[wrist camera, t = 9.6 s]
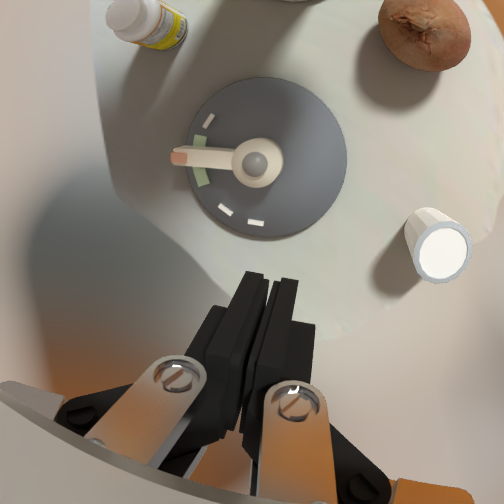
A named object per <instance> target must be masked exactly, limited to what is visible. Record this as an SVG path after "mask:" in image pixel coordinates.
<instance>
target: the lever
mask: <svg viewBox="0 0 504 504" xmlns="http://www.w3.org/2000/svg"><path fill="white" fill-rule="evenodd" d="M284 160H285V159H284V153H283V151H282V149H281V147H280V146H279V145H278V144H277V143H276V142H275V141H273V140H272V139H269V138H265V137H258V138H254V139H251V140H248V141H245V142H243V143H242V144H240V145H239V146H238V147H237V148H236V149H232V148H219V147H205V146H187V145H184V146H180V147H176V148H173V152H172V153H171V162H173V165H179V166H193V167H205V168H216V169H227V170H233V172H234V175H235V176H236V178H237V179H238V180H239V181H240V182H241V183H243V184H244V185H246V186H249V187H253V188H261V187H265V186H267V185H269V184H270V183H272V182H273V181H274V180H275V179H276V177H277V176H278V175H279V174H280V172H281V171H282V169H283V166H284Z"/></svg>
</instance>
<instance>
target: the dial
mask: <svg viewBox="0 0 504 504" xmlns="http://www.w3.org/2000/svg"><path fill="white" fill-rule="evenodd" d="M258 137H265V138H269V139H272V140H273V141H275V142H276V143H277V144H278V145H279V146H280V147H281V149H282V151H283V153H284V159H285V160H284V166H283V169H282V171H281V172H280V174H279V175H278V176H277V177H276V179H275V180H274V181H273V182H272V183H270V184H269V185H267V186H265V187H261V188H253V187H249V186H246V185H244V184H243V183H241V182H240V181H239V180H238V179H237V178H236V176H235V175H234V172H233V170H227V169H216V168H205V167H193V166H186V170H187V174H188V178H189V181H190V184H191V186H192V189H193V191H194V193H195V194H196V196H197V198H198V199H199V201H200V202H201V204H202V205H203V206H204V207H205V208H206V210H207V211H208V212H209V213H210V214H211V215H212V216H214V217H215V218H216V219H217V220H218V221H220V222H221V223H223V224H224V225H226V226H228V227H230V228H232V229H234V230H236V231H239V232H241V233H244V234H248V235H253V236H260V237H277V236H284V235H288V234H292V233H295V232H297V231H300V230H302V229H304V228H306V227H308V226H310V225H311V224H313V223H314V222H316V221H317V220H318V219H319V218H321V217H322V216H323V215H324V214H325V213H326V212H327V211H328V210H329V208H330V207H331V206H332V204H333V203H334V202H335V200H336V198H337V196H338V194H339V193H340V190H341V188H342V185H343V182H344V178H345V174H346V166H347V152H346V145H345V140H344V137H343V134H342V131H341V128H340V126H339V124H338V122H337V120H336V118H335V117H334V115H333V114H332V112H331V111H330V109H329V108H328V107H327V106H326V105H325V104H324V103H323V102H322V101H321V100H320V99H319V98H318V97H317V96H315V95H314V94H313V93H311V92H310V91H308V90H307V89H305V88H304V87H301V86H299V85H297V84H295V83H292V82H289V81H286V80H282V79H276V78H251V79H246V80H242V81H238V82H236V83H233V84H231V85H229V86H227V87H225V88H223V89H222V90H220V91H218V92H217V93H216V94H214V95H213V96H212V97H211V98H210V99H209V100H208V101H207V102H206V103H205V104H204V105H203V106H202V107H201V109H200V110H199V111H198V113H197V115H196V116H195V118H194V120H193V122H192V124H191V127H190V129H189V132H188V136H187V140H186V145H187V146H205V147H219V148H232V149H236V148H237V147H238V146H239V145H240V144H242V143H243V142H245V141H248V140H251V139H254V138H258Z"/></svg>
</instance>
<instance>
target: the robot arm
mask: <svg viewBox="0 0 504 504" xmlns="http://www.w3.org/2000/svg"><path fill="white" fill-rule="evenodd" d="M283 1H306V0H283ZM263 278H264V275H263V274H260V273H255V272H250V271H246V272H245V274H244V276H243V278H242V280H241V282H240V284H239V286H238V288H237V290H236V292H235V294H234V296H233V298H232V300H231V302H230V304H229V306H228V308H225V307H221V306H217V305H214V306H213V307H212V308H211V309H210V311H209V313H208V315H207V317H206V318H205V320H204V322H203V324H202V325H201V327H200V329H199V330H198V332H197V334H196V335H195V337H194V339H193V341H192V342H191V344H190V346H189V348H188V349H187V351H186V353H185V355H184V356H183V355H171V356H165V357H163V358H160V359H158V360H156V361H155V362H154V363H153V364H152V365H151V366H150V367H149V368H148V369H147V370H146V371H145V372H144V373H143V374H142V375H141V376H140V377H139V378H138V379H137V381H136V382H135V383H133V384H129V385H125V386H121V387H117V388H114V389H110V390H106V391H101V392H97V393H93V394H88V395H84V396H80V397H76V398H73V399H70V400H69V401H68V400H66V399H65V397H64V396H62V395H58V394H55V393H51V392H47V391H44V390H41V389H37V388H34V387H31V386H27V385H24V384H21V383H18V382H14V381H6V382H2V383H0V504H474V500H473V498H472V496H471V495H470V494H469V493H468V492H467V491H466V490H463V489H460V488H455V487H448V486H441V485H434V484H428V483H422V482H417V481H412V480H406V479H402V478H399V479H398V480H397V481H395V480H390V479H388V478H387V476H386V475H385V474H384V473H383V472H382V471H381V470H380V469H379V468H378V467H377V466H376V465H374V464H373V463H372V462H371V461H370V460H369V459H368V458H367V457H365V456H364V455H363V454H362V453H361V452H360V451H359V450H358V449H357V448H356V447H355V446H354V445H353V444H351V443H350V442H349V441H348V440H347V439H346V438H345V437H344V436H343V435H342V434H341V433H340V432H339V431H338V430H336V428H335V427H334V426H332V425H331V424H330V423H329V417H328V410H327V403H326V400H325V397H324V396H323V394H322V393H321V392H320V391H319V390H318V389H317V388H315V387H314V386H313V385H310V379H311V370H312V359H313V349H314V338H315V324H309V323H304V322H298V321H292V314H293V309H294V304H295V298H296V293H297V287H298V281H299V280H294V279H288V278H281V282H279V281H274V283H273V286H272V289H271V292H270V296H269V299H268V302H267V305H266V301H267V294H268V287H269V280H268V279H263ZM242 404H243V405H242ZM241 408H242V413H241V421H240V429H239V432H240V433H243V434H244V435H243V441H242V447H243V448H244V449H245V451H246V452H247V453H248V454H249V456H250V457H251V458H252V461H251V471H250V483H249V495H245V494H240V493H236V492H231V491H227V490H223V489H219V488H215V487H212V486H208V485H204V484H201V483H197V482H194V481H191V480H188V478H189V477H190V475H191V474H192V472H193V470H194V469H195V467H196V466H197V464H198V463H199V461H200V459H201V458H202V456H203V454H204V453H205V451H206V448H207V445H208V444H211V443H213V442H216V441H218V440H219V439H220V438H221V439H224V437H225V434H226V432H227V430H230V431H234V429H235V426H236V423H237V420H238V417H239V414H240V411H241Z"/></svg>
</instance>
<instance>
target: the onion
mask: <svg viewBox="0 0 504 504" xmlns="http://www.w3.org/2000/svg"><path fill="white" fill-rule="evenodd" d="M378 22H379V28H380V32H381V36H382V38H383V40H384V42H385V43H386V45H387V47H388V48H389V49H390V51H391V52H392V53H393V54H394V55H395V56H396V57H397V58H398V59H399V60H401V61H402V62H403V63H405V64H407V65H409V66H411V67H413V68H416V69H418V70H423V71H428V72H436V71H444V70H447V69H449V68H452V67H455V66H456V65H458V64H459V63H460V62H461V61H462V60H463V59H464V58H465V57H466V55H467V53H468V51H469V48H470V44H471V32H470V27H469V23H468V20H467V18H466V16H465V14H464V13H463V11H462V10H461V9H460V7H459V6H458V5H457V4H456V3H455V2H454V1H453V0H384V2H383V4H382V6H381V9H380V11H379V16H378Z"/></svg>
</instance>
